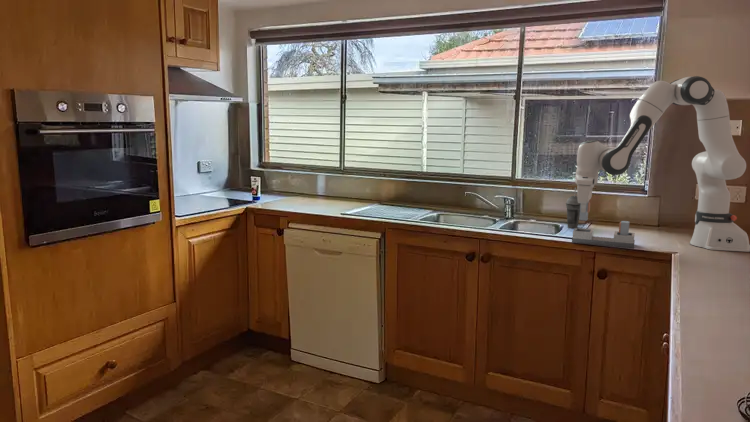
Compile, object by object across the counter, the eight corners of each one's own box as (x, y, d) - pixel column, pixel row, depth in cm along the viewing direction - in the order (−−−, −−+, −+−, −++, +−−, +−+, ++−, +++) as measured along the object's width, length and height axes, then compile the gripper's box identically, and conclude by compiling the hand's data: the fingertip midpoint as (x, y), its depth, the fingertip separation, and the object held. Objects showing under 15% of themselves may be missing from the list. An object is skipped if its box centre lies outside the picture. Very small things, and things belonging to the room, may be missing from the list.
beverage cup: (578, 226, 266) (580, 186, 262) (582, 229, 258) (584, 187, 255) (563, 225, 266) (565, 185, 263) (566, 228, 259) (569, 187, 256)
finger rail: (634, 244, 225) (635, 232, 224) (633, 248, 218) (634, 236, 217) (574, 239, 236) (574, 227, 235) (571, 242, 229) (572, 231, 228)
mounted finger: (628, 240, 224) (629, 221, 223) (627, 242, 221) (629, 223, 219) (618, 239, 226) (619, 220, 225) (618, 241, 222) (619, 222, 221)
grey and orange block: (580, 218, 231) (581, 200, 230) (589, 219, 230) (590, 200, 229) (579, 220, 228) (580, 201, 227) (588, 220, 226) (589, 202, 225)
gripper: (581, 176, 237) (579, 207, 239) (575, 180, 219) (573, 214, 221) (596, 177, 234) (594, 208, 236) (592, 181, 216) (589, 215, 218)
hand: (584, 211), depth 228 cm, fingers closed on grey and orange block, 4 cm apart
